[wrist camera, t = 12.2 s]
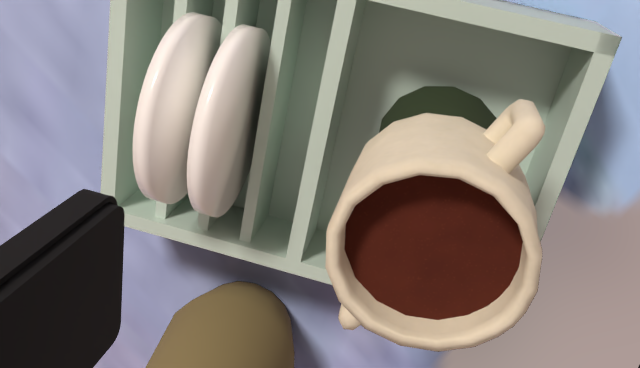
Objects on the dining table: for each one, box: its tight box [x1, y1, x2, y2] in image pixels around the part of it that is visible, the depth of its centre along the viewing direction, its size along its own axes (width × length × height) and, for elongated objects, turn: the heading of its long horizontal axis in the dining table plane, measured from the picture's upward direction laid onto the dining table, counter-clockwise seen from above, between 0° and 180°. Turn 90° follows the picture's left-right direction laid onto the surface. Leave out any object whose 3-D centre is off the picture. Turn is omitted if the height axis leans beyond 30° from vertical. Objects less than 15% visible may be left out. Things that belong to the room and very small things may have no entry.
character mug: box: [325, 86, 545, 352], centre depth 26 cm, size 11×7×13 cm, turn 144°
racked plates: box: [133, 12, 271, 217], centre depth 29 cm, size 3×9×9 cm, turn 169°
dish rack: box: [101, 0, 622, 285], centre depth 31 cm, size 22×15×5 cm
